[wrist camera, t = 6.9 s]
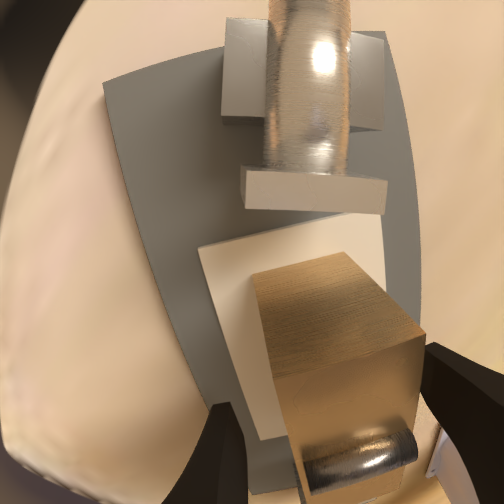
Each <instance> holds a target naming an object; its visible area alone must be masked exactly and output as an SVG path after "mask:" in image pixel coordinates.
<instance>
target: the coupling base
mask: <svg viewBox="0 0 504 504" xmlns="http://www.w3.org/2000/svg"><path fill="white" fill-rule="evenodd" d="M351 32H353V33H358V34H362V35H367V36H371V37H375V38H379V39H383V40H384V71H385V90H384V127H383V131H369V132H355V133H350V134H349V151H348V166H347V171H350V172H354V173H358V174H363V175H367V176H371V177H375V178H379V179H383V180H387V181H388V185H387V195H386V204H385V213H384V215H376V214H360V213H342V212H322V211H299V210H271V209H245V206H244V203H243V199H242V196H241V193H240V164H263V143H264V126H249V125H223V123H222V118H221V104H222V83H223V64H224V47H225V46H223V47H219V48H214V49H210V50H205V51H201V52H197V53H193V54H189V55H186V56H182V57H178V58H175V59H171V60H168V61H164V62H161V63H158V64H154V65H151V66H148V67H145V68H142V69H139V70H136V71H133V72H130V73H128V74H125V75H122V76H119V77H117V78H114V79H111V80H109V81H106V82H104V83H102V84H103V89H104V94H105V99H106V104H107V109H108V114H109V118H110V123H111V127H112V132H113V136H114V140H115V145H116V149H117V153H118V157H119V161H120V165H121V169H122V172H123V176H124V180H125V184H126V187H127V191H128V195H129V198H130V202H131V205H132V208H133V212H134V215H135V219H136V222H137V225H138V228H139V232H140V235H141V238H142V241H143V244H144V247H145V250H146V254H147V257H148V260H149V263H150V265H151V268H152V271H153V274H154V277H155V280H156V283H157V286H158V288H159V291H160V294H161V297H162V300H163V302H164V305H165V308H166V310H167V313H168V316H169V318H170V321H171V323H172V326H173V329H174V331H175V334H176V336H177V339H178V341H179V344H180V346H181V349H182V351H183V353H184V356H185V358H186V361H187V363H188V365H189V368H190V370H191V372H192V375H193V377H194V379H195V382H196V384H197V386H198V388H199V391H200V393H201V395H202V397H203V399H204V402H205V404H206V406H207V408H208V410H209V412H210V409H211V407H212V405H213V404H218V403H224V402H231V405H232V407H233V410H234V412H235V415H236V417H237V420H238V422H239V425H240V427H241V429H242V432H243V434H244V439H245V445H246V453H247V463H248V488H249V490H250V492H251V494H252V495H256V494H262V493H268V492H274V491H279V490H284V489H289V488H294V487H297V482H296V478H295V473H294V468H293V464H294V463H295V459H294V456H293V452H292V448H291V445H290V441H289V438H288V434H287V430H286V427H285V423H284V419H283V415H282V412H281V408H280V404H279V401H278V397H277V393H276V390H275V386H274V382H273V377H272V373H271V368H270V363H269V358H268V353H267V348H266V343H265V338H264V333H263V328H262V323H261V318H260V313H259V308H258V303H257V297H256V292H255V287H254V282H253V277H252V274H254V273H259V272H263V271H267V270H271V269H275V268H279V267H283V266H287V265H291V264H295V263H299V262H303V261H307V260H311V259H315V258H319V257H323V256H327V255H331V254H335V253H339V252H343V251H344V252H345V253H346V254H347V255H348V256H349V257H350V258H351V259H352V260H353V261H354V262H355V263H357V264H358V265H359V266H360V267H361V268H362V269H363V270H364V271H365V272H366V273H367V274H368V275H369V276H370V277H371V278H372V279H373V280H374V281H375V282H376V283H377V284H378V285H379V286H380V287H381V288H382V289H383V290H384V291H385V292H386V293H387V294H388V295H389V296H390V297H391V298H392V299H393V300H394V301H395V302H396V303H397V304H398V305H399V306H400V307H401V308H402V309H403V310H404V311H405V312H406V313H407V314H408V315H409V316H410V317H411V318H412V319H413V320H414V321H415V322H416V323H417V324H418V325H419V326H420V313H421V245H420V225H419V211H418V199H417V189H416V179H415V171H414V163H413V156H412V149H411V143H410V136H409V131H408V125H407V119H406V114H405V109H404V104H403V99H402V95H401V90H400V86H399V82H398V77H397V73H396V69H395V66H394V62H393V58H392V54H391V51H390V47H389V44H388V40H387V37H386V34H385V31H351Z"/></svg>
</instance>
